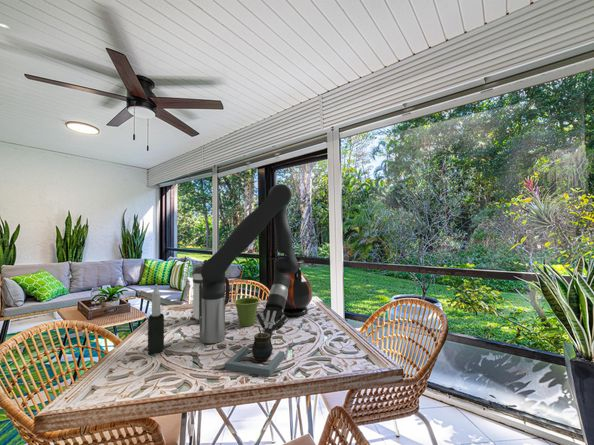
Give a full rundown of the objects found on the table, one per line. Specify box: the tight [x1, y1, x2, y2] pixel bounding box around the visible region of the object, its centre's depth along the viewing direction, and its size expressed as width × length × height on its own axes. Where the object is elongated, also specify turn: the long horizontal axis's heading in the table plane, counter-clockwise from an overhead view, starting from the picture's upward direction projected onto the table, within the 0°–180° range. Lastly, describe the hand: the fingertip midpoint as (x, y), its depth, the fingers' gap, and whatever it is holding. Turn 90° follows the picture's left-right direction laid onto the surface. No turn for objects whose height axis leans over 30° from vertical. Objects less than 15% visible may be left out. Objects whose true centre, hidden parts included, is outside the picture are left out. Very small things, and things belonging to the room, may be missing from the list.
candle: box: [147, 283, 165, 356], centre depth 105 cm, size 5×5×25 cm
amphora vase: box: [283, 259, 313, 317], centre depth 152 cm, size 22×22×28 cm
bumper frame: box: [224, 346, 286, 377], centre depth 95 cm, size 16×13×2 cm
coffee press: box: [189, 259, 230, 325], centre depth 142 cm, size 17×16×30 cm
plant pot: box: [234, 297, 260, 328], centre depth 133 cm, size 12×12×11 cm
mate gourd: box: [251, 325, 274, 362], centre depth 99 cm, size 7×8×10 cm
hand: (266, 340), depth 102 cm, fingers closed
